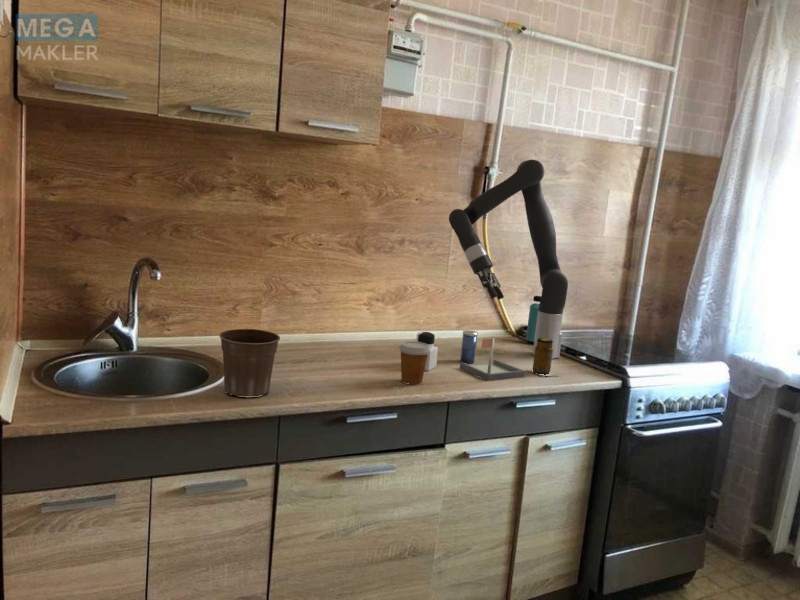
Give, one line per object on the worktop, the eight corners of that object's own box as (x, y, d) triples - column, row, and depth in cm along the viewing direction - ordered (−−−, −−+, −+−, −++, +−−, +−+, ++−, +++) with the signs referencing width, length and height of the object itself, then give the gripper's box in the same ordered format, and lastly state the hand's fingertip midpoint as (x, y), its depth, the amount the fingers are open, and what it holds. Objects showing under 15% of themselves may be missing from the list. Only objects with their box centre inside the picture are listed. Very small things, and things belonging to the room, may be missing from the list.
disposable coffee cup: (417, 388, 204) (420, 350, 202) (390, 381, 208) (393, 344, 206) (432, 382, 212) (436, 345, 210) (406, 375, 217) (409, 339, 214)
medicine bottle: (436, 367, 230) (439, 332, 228) (428, 371, 224) (431, 336, 222) (417, 363, 233) (420, 329, 231) (408, 367, 226) (411, 332, 224)
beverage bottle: (542, 345, 277) (548, 298, 273) (526, 344, 277) (532, 296, 273) (539, 342, 283) (545, 295, 280) (523, 340, 283) (529, 294, 280)
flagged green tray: (451, 369, 229) (455, 328, 227) (495, 364, 240) (499, 326, 237) (479, 381, 217) (483, 339, 214) (524, 376, 227) (529, 336, 225)
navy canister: (471, 360, 243) (475, 330, 242) (476, 364, 238) (479, 333, 237) (458, 359, 242) (461, 330, 240) (462, 363, 237) (465, 333, 235)
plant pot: (286, 398, 185) (289, 341, 182) (228, 404, 176) (231, 344, 173) (263, 381, 198) (266, 327, 195) (209, 386, 189) (211, 330, 187)
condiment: (543, 369, 239) (547, 336, 237) (558, 376, 232) (562, 342, 230) (526, 370, 236) (530, 337, 234) (541, 377, 229) (545, 343, 227)
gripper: (481, 251, 239) (501, 292, 235) (492, 255, 252) (512, 294, 248) (463, 262, 242) (483, 302, 238) (475, 265, 255) (494, 303, 251)
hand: (498, 298), depth 243 cm, fingers open, 8 cm apart
